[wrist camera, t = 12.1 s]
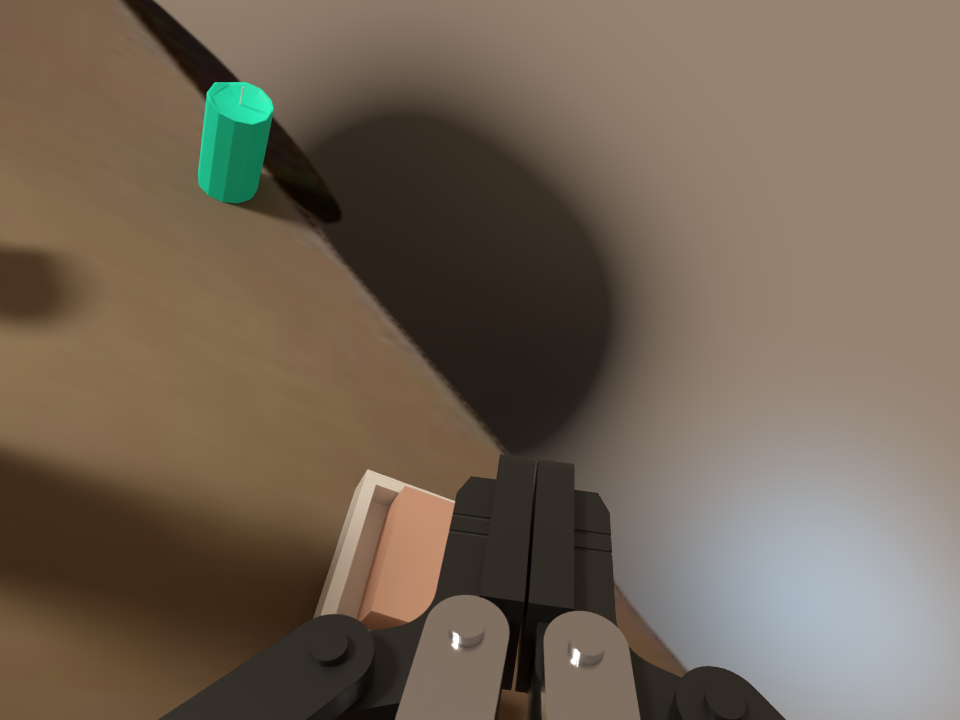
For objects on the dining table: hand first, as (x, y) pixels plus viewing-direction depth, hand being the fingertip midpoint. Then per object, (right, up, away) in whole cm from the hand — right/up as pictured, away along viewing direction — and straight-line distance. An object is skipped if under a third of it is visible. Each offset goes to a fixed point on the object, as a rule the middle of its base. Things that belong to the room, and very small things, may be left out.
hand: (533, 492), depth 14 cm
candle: (-28, +21, +59) cm, 69 cm away
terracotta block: (-7, -17, +37) cm, 41 cm away
